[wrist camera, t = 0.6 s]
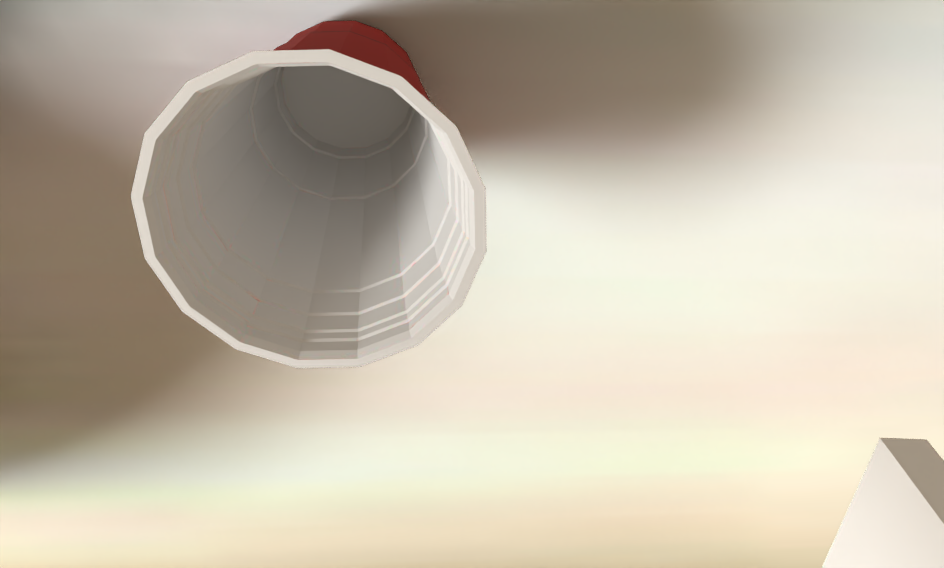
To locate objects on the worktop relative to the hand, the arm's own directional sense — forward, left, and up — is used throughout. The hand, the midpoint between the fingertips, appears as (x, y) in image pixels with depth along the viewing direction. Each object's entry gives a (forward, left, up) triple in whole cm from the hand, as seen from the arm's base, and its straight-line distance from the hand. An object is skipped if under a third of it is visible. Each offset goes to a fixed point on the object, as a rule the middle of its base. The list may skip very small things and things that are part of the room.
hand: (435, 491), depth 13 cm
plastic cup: (-5, +3, -27) cm, 27 cm away
